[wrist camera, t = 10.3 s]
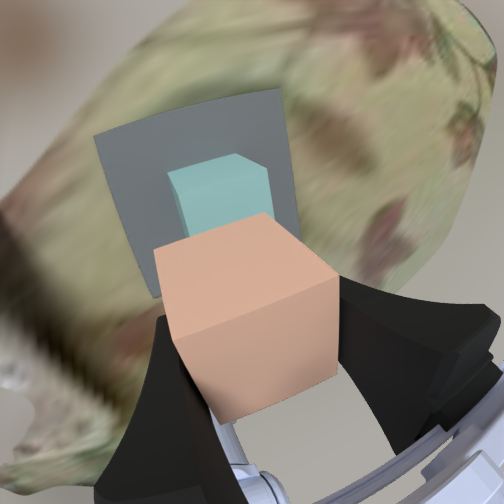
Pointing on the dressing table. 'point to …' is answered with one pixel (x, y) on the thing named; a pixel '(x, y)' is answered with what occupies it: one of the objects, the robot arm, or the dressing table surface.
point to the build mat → (190, 153)
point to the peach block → (250, 314)
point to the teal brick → (220, 193)
